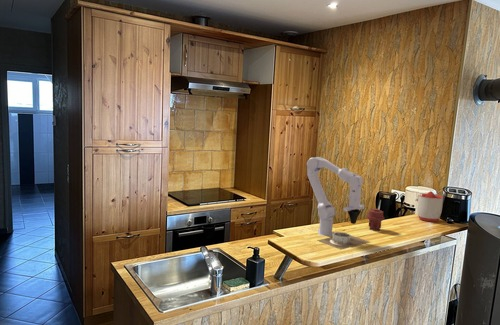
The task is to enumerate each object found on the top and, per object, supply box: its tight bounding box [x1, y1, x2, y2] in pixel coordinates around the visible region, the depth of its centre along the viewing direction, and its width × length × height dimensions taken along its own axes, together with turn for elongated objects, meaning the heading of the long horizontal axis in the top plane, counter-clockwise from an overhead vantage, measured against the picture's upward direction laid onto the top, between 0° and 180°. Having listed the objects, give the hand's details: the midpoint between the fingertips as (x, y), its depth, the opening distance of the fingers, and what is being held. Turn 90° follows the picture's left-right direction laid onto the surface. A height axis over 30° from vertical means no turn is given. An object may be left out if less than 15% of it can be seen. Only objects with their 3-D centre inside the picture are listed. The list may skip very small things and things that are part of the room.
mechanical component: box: [366, 208, 385, 231], centre depth 222 cm, size 12×10×10 cm
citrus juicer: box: [415, 191, 444, 223], centre depth 252 cm, size 16×17×20 cm
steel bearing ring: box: [331, 231, 352, 245], centre depth 192 cm, size 9×9×4 cm
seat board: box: [316, 235, 370, 250], centre depth 194 cm, size 24×16×1 cm, turn 126°
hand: (353, 223), depth 197 cm, fingers closed
